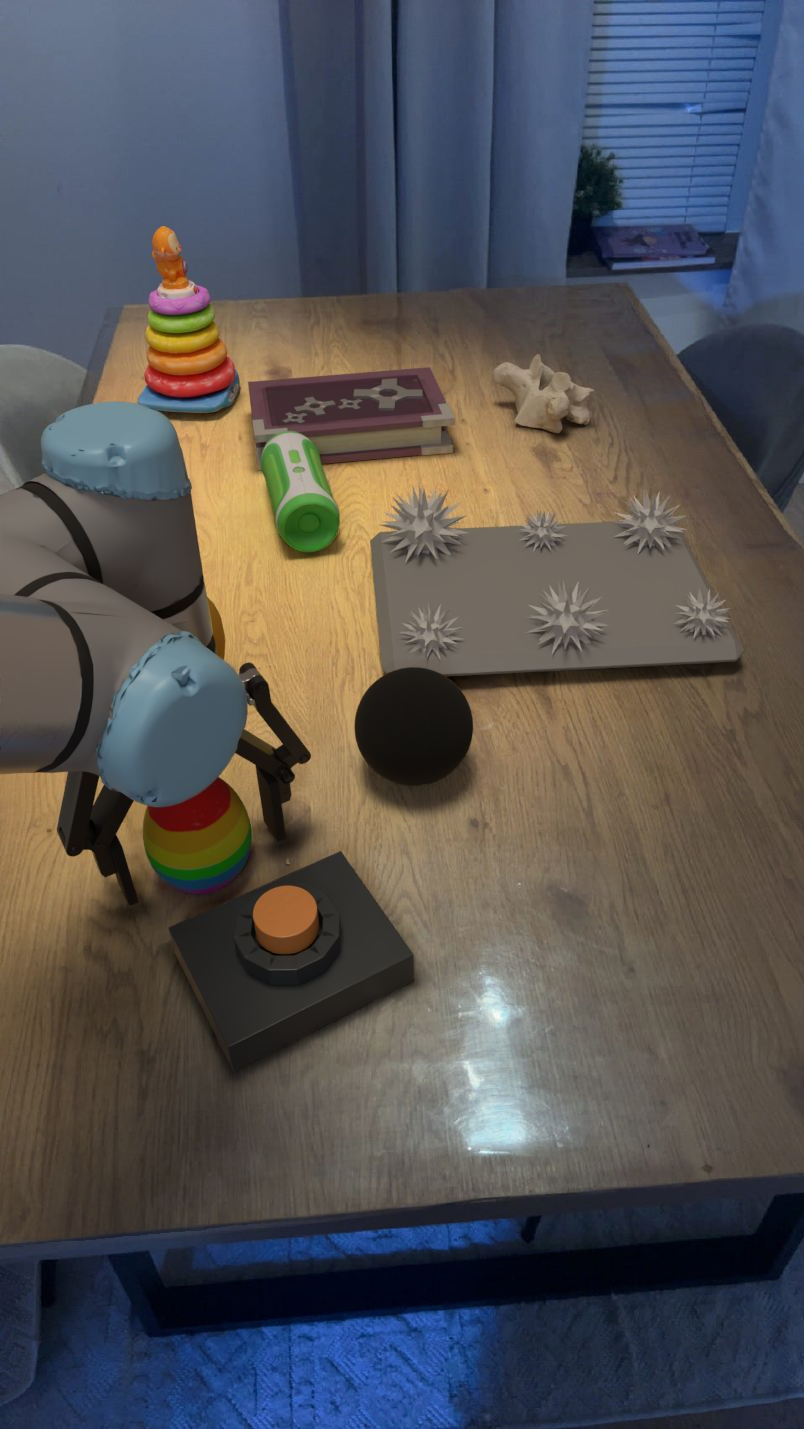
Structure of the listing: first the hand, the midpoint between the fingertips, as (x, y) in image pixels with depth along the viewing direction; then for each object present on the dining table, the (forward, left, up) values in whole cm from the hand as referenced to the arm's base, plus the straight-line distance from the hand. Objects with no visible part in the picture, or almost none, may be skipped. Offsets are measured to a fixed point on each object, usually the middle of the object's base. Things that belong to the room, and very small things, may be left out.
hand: (203, 860), depth 80 cm
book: (+45, +60, -1) cm, 75 cm away
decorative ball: (+20, +1, -1) cm, 20 cm away
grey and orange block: (+2, -12, -1) cm, 12 cm away
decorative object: (+69, +49, -1) cm, 85 cm away
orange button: (+2, -12, +4) cm, 13 cm away
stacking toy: (+31, +81, -1) cm, 87 cm away
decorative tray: (+44, +15, -1) cm, 46 cm away
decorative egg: (0, 0, -1) cm, 1 cm away
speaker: (+30, +44, -1) cm, 53 cm away
